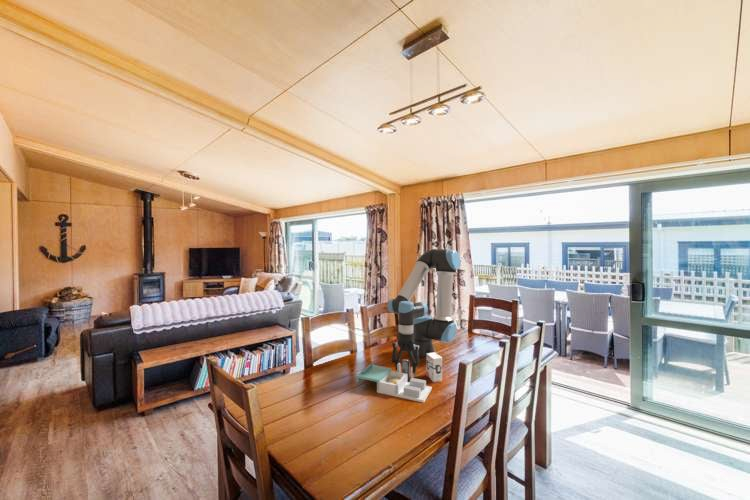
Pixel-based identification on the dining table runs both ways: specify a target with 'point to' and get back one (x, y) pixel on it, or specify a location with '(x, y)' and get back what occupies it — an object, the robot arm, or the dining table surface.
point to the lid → (373, 373)
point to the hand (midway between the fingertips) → (405, 377)
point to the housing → (403, 387)
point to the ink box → (434, 367)
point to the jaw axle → (406, 367)
